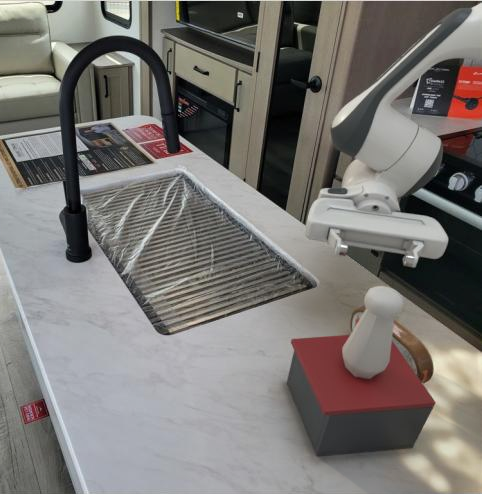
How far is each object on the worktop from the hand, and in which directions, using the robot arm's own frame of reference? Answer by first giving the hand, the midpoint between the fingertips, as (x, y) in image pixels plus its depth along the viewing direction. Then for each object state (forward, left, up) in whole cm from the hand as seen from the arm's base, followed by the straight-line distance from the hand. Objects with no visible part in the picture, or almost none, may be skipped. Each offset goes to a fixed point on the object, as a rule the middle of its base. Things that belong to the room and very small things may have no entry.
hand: (375, 257), depth 69 cm
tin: (-5, +3, -20) cm, 21 cm away
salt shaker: (+5, +11, -10) cm, 16 cm away
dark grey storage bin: (+5, +12, -20) cm, 23 cm away
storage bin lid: (+5, +12, -11) cm, 17 cm away
